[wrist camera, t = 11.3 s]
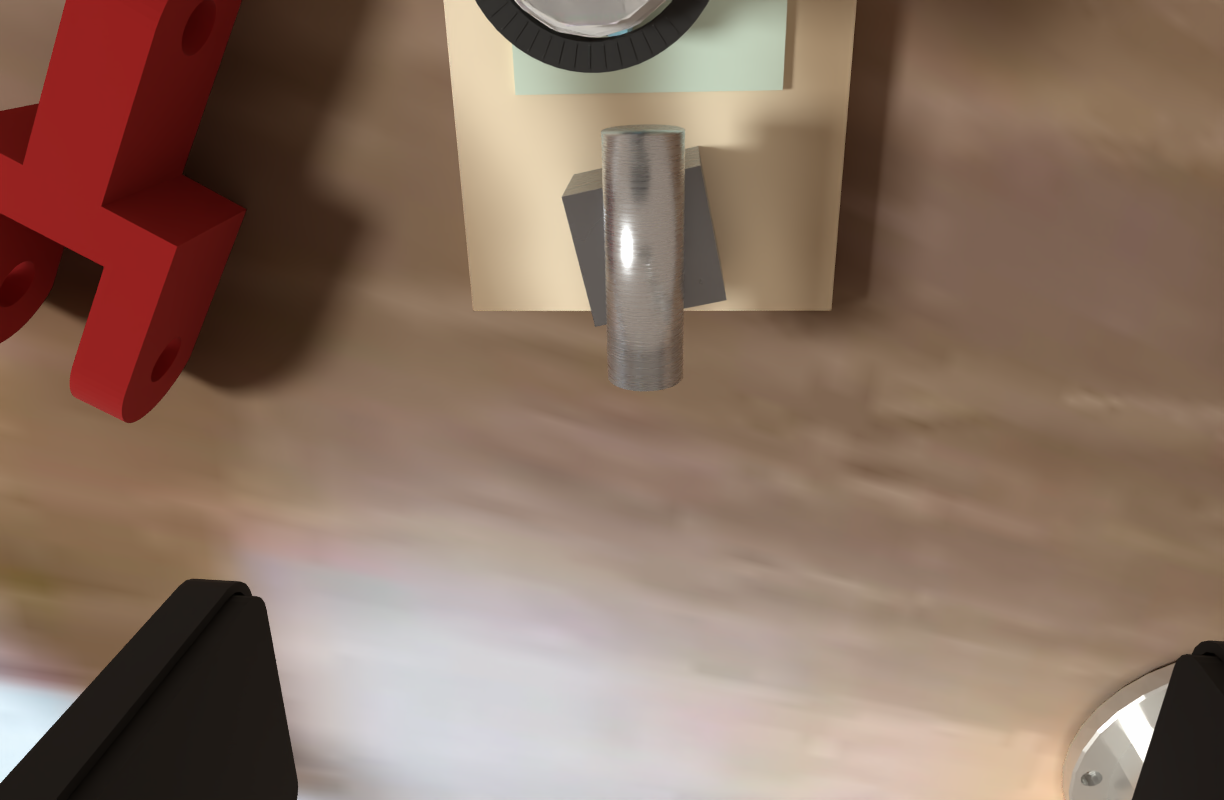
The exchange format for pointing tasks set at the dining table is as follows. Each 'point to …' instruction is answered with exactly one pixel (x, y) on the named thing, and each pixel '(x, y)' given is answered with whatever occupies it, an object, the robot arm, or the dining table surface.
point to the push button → (591, 30)
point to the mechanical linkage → (119, 191)
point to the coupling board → (666, 95)
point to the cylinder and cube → (644, 249)
